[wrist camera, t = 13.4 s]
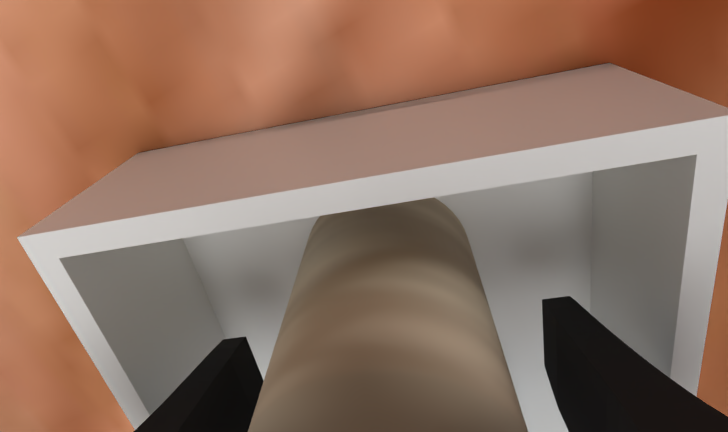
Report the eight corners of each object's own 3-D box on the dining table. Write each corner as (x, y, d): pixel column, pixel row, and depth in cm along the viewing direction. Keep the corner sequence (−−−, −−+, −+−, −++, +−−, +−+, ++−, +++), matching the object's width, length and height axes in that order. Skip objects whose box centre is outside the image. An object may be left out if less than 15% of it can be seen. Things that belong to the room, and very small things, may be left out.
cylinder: (457, 169, 13) (523, 346, 7) (480, 312, 15) (545, 549, 9) (285, 203, 14) (195, 393, 7) (330, 335, 16) (291, 570, 9)
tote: (609, 62, 12) (741, 113, 7) (596, 483, 19) (658, 633, 15) (137, 152, 14) (17, 237, 9) (293, 507, 21) (268, 647, 17)
